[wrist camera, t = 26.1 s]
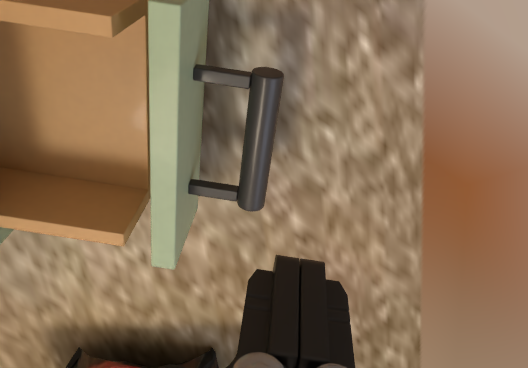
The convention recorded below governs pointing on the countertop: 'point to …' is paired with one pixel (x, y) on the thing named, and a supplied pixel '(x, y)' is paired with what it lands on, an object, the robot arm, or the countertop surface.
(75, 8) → the drawer
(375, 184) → the countertop surface
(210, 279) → the countertop surface
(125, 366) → the baking dish
